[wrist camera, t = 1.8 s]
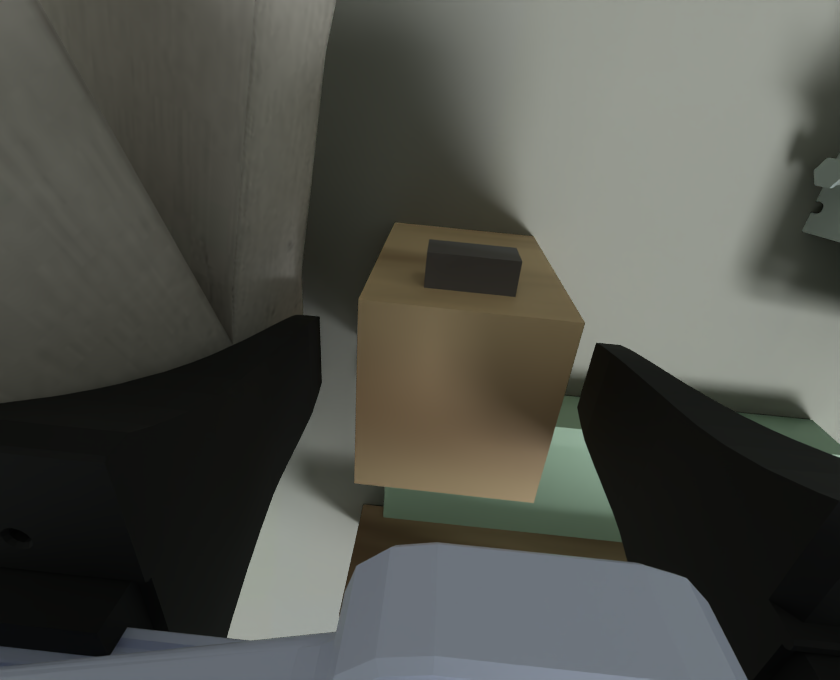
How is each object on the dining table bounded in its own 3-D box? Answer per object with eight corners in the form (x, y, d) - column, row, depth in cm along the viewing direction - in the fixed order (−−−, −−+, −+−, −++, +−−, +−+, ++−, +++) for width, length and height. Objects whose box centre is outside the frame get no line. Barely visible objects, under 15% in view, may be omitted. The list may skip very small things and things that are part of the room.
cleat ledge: (737, 543, 20) (764, 584, 19) (384, 506, 21) (378, 544, 19) (811, 419, 17) (853, 456, 15) (392, 378, 17) (385, 409, 16)
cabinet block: (506, 367, 17) (533, 503, 11) (387, 354, 17) (354, 483, 11) (538, 210, 14) (595, 284, 9) (396, 196, 14) (359, 260, 9)
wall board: (745, 566, 21) (823, 689, 17) (362, 526, 21) (339, 636, 17) (759, 545, 20) (844, 668, 16) (363, 504, 21) (339, 613, 16)
